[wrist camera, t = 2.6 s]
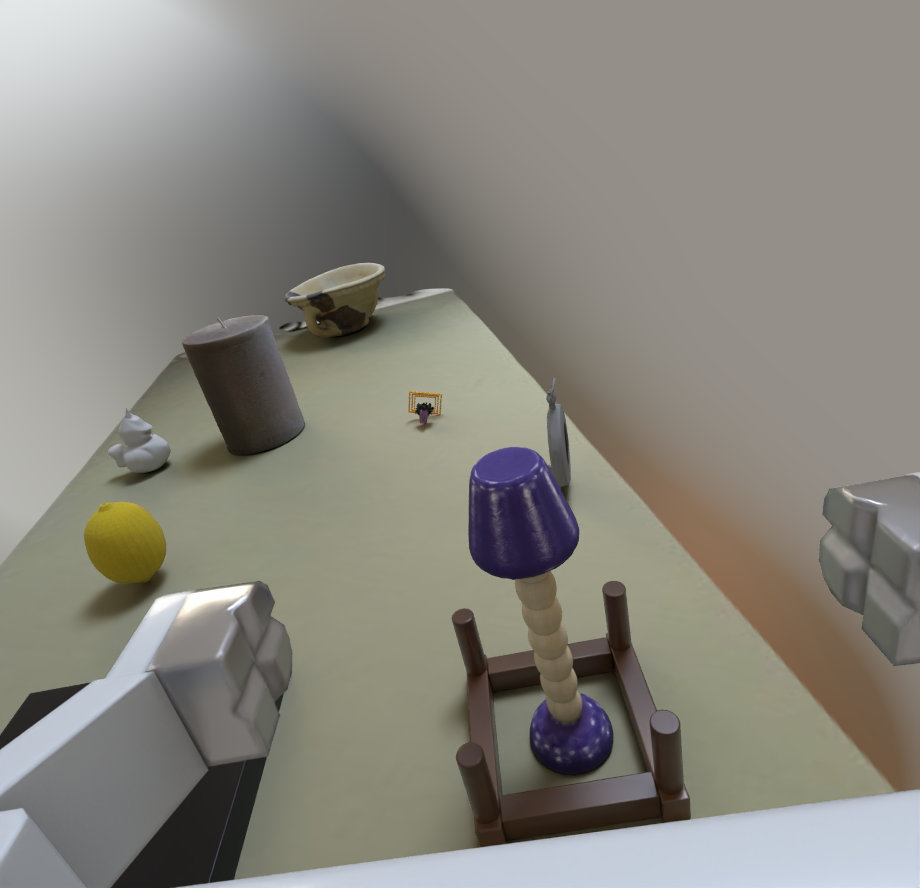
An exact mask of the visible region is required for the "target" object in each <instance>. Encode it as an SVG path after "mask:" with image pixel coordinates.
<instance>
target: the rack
mask: <svg viewBox="0 0 920 888" xmlns="http://www.w3.org/2000/svg"><path fill="white" fill-rule="evenodd" d="M602 591H603V598H604V606H605V614H606V622H607V629H608V633H607V634H606V637H607V638H600V639H594V640H589V641H583V642H577V643H572V644H567V646H568V647H569V649H570V651H571V654H572V658H573V666H572V668H573V670H574V672H575V674H576V676H577V677H581V676H587V675H593V674H599V673H604V672H610V671H614V670H615V673H616V676H617V680H618V683H619V686H620V689H621V692H622V695H623V698H624V701H625V704H626V707H627V710H628V713H629V716H630V720H631V723H632V726H633V729H634V732H635V735H636V738H637V741H638V744H639V747H640V750H641V753H642V756H643V760H644V763H645V766H646V769H647V772H645V773H639V774H633V775H626V776H620V777H614V778H608V779H602V780H595V781H589V782H583V783H577V784H571V785H564V786H558V787H552V788H546V789H540V790H533V791H527V792H521V793H515V794H509V795H502V786H501V776H500V766H499V756H498V745H497V735H496V725H495V714H494V704H493V694H492V691H500V690H506V689H512V688H518V687H523V686H529V685H535V684H541V681H540V674H541V673H540V672H539V671H538V669H537V667H536V664H535V660H534V650H532V651H526V652H521V653H515V654H509V655H504V656H498V657H492V658H487V657H486V655H484V652H483V649H482V645H481V641H480V637H479V633H478V630H477V626H476V622H475V618H474V614H473V612H472V611H471V610H469V609H459V610H457V611H456V612H455V613H454V614H453V616H452V622H453V625H454V629H455V632H456V636H457V639H458V643H459V646H460V650H461V653H462V657H463V660H464V664H465V667H466V671H467V688H468V706H469V725H470V742H469V743H465V744H464V745H462V746H461V747H460V748H459V749H458V751H457V754H456V761H457V764H458V767H459V770H460V773H461V776H462V779H463V782H464V785H465V788H466V791H467V794H468V797H469V801H470V804H471V807H472V810H473V813H474V817H475V833H476V836H477V839H478V842H479V845H480V847H487V846H495V845H503V844H507V840H514V839H521V838H527V837H534V836H540V835H546V834H553V833H559V832H566V831H572V830H578V829H585V828H591V827H598V826H604V825H610V824H617V823H623V822H630V821H636V820H642V819H649V818H655V817H661V815H662V818H663V821H664V822H665V823H667V822H673V821H679V820H686V819H690V818H691V813H690V798H689V795H688V792H687V790H686V787H685V784H684V779H683V763H682V746H681V730H680V721H679V719H678V717H677V716H676V715H675V714H674V713H672V712H670V711H668V710H658V711H657V710H656V707H655V704H654V702H653V699H652V696H651V694H650V691H649V688H648V686H647V683H646V680H645V678H644V675H643V672H642V670H641V667H640V664H639V662H638V659H637V656H636V654H635V651H634V648H633V646H632V643H631V635H630V626H629V616H628V607H627V597H626V588H625V586H624V585H623V584H622V583H621V582H618V581H610V582H607V583H606V584H605V585H604V586H603V588H602Z"/></svg>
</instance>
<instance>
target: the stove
mask: <svg viewBox="0 0 920 888" xmlns="http://www.w3.org/2000/svg"><path fill="white" fill-rule="evenodd" d="M89 684H90V683H85V684H80V685H74V686H69V687H63V688H58V689H52V690H47V691H41V692H36V693H30V694H29V696H28V697H27V698H26V700H25V701H24V703H23V704H22V705H21V707H20V708H19V710H18V711H17V712H16V714H15V715H14V717H13V718H12V719H11V721H10V722H9V724H8V725H7V726H6V728H5V729H4V731H3V732H2V733H1V735H0V750H1V749H2V748H3V747H5V746H6V745H7V744H9V743H10V742H11V741H13V740H14V739H15V738H17V737H18V736H20V735H21V734H22V733H24V732H25V731H26V730H28V729H29V728H30V727H32V726H33V725H34V724H36V723H37V722H39V721H40V720H41V719H43V718H44V717H45V716H47V715H48V714H49V713H51V712H52V711H53V710H55V709H56V708H58V707H59V706H60V705H62V704H63V703H64V702H66V701H67V700H68V699H70V698H71V697H72V696H74V695H75V694H77V693H78V692H79V691H81V690H82V689H83V688H85V687H86V686H87V685H89ZM282 697H283V694H282V695H281V696H280V697H279V698H278V699H277V700H276V701H275V702H274V703H275V705H276V707H277V710H278V712H279V708H280V704H281V701H282ZM265 760H266V757H262V758H256V759H250V760H245V761H239V762H233V763H227V764H222V765H216V766H210V767H207V768H208V771H207V772H206V774H205V775H204V776H203V777H202V778H201V780H200V781H199V782H198V783H197V784H196V786H195V787H194V788H193V789H192V790H191V792H190V793H189V794H188V795H187V797H186V798H185V799H184V800H183V801H182V803H181V804H180V805H179V806H178V807H177V809H176V810H175V811H174V812H173V813H172V815H171V816H170V817H169V818H168V819H167V821H166V822H165V823H164V824H163V825H162V827H161V828H160V829H159V830H158V831H157V833H156V834H155V835H154V836H153V837H152V839H151V840H150V841H149V842H148V843H147V845H146V846H145V847H144V848H143V849H142V851H141V852H140V853H139V854H138V855H137V857H136V858H135V859H134V860H133V861H132V863H131V864H130V865H129V866H128V867H127V869H126V870H125V871H124V872H123V873H122V875H121V876H120V877H119V878H118V880H117V881H116V882H115V883H114V884H113V886H112V887H111V888H177V887H184V886H192V885H199V884H207V883H214V882H222V881H229V880H233V879H234V875H235V871H236V867H237V864H238V860H239V856H240V853H241V849H242V845H243V842H244V838H245V834H246V830H247V827H248V823H249V819H250V816H251V812H252V808H253V804H254V801H255V797H256V793H257V790H258V786H259V782H260V778H261V775H262V771H263V767H264V764H265Z"/></svg>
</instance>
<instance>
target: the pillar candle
mask: <svg viewBox="0 0 920 888" xmlns="http://www.w3.org/2000/svg"><path fill="white" fill-rule="evenodd" d="M218 321H219V323H216V324H213V325H210V326H207V327H205V328H202V329H200V330H197V331H195V332H193V333H191V334H189V335H188V336H186V337H185V338H184V339H183V341H182V344H183V347H184V349H185V352H186V354H187V356H188V359H189V361H190V364H191V366H192V368H193V370H194V373H195V375H196V377H197V380H198V382H199V384H200V387H201V389H202V391H203V393H204V396H205V398H206V400H207V403H208V405H209V407H210V409H211V411H212V413H213V416H214V418H215V421H216V422H217V425H218V427H219V429H220V432H221V433H222V436H223V438H224V440H225V442H226V445H227V449H228V451H230V452H232V453H234V454H238V455H248V454H253V453H258V452H262V451H266V450H269V449H272V448H274V447H277V446H279V445H281V444H284V443H285V442H287V441H289V440H291V439H292V438H293V437H295V436H296V435H297V434H299V433H300V432H301V430H302V429H303V428H304V425H305V422H304V419H303V416H302V413H301V411H300V408H299V405H298V402H297V399H296V396H295V394H294V391H293V388H292V385H291V383H290V380H289V377H288V374H287V372H286V369H285V366H284V363H283V361H282V358H281V355H280V353H279V350H278V347H277V345H276V342H275V339H274V336H273V334H272V330H271V328H270V325H269V323H268V317H265V316H261V315H254V316H244V317H239V318H233V319H229V320H226V321H221V320H220V319H219V318H218Z"/></svg>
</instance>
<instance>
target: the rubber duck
mask: <svg viewBox="0 0 920 888" xmlns="http://www.w3.org/2000/svg"><path fill="white" fill-rule="evenodd" d="M151 428H152V426H151V425H150V424H148V423H146V422H144V421H143V420H142V419H141V418H139V417H138V416H135V415H133V414H130V413H129V411H128V410H127V409H126V418H123V420H122V423H121V425H120V427H119V430H118V434H119V437H120V439H121V440H122V441H123V442H124V443H125V444H118V445H114V446H113V447H111V448H110V449H109V451H108V453H109V455H110V456H111V457H112V458H114V459H115V460H116V463H117V465H118V467H126V466H127V468H128V469H129V470H130V471H132V472H135V473H136V472H139V473H145V472H150V471H153V470H156V469H158V468H160V467H161V466H162V465H163V464H164V463H165V462H166V460H167V458H168V457H169V455H170V452H171V450H170V446H169V444H168V443H167V441H165V440H164V439H162V438H161V437H159V436H158V435H156V434H152V430H151Z"/></svg>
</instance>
